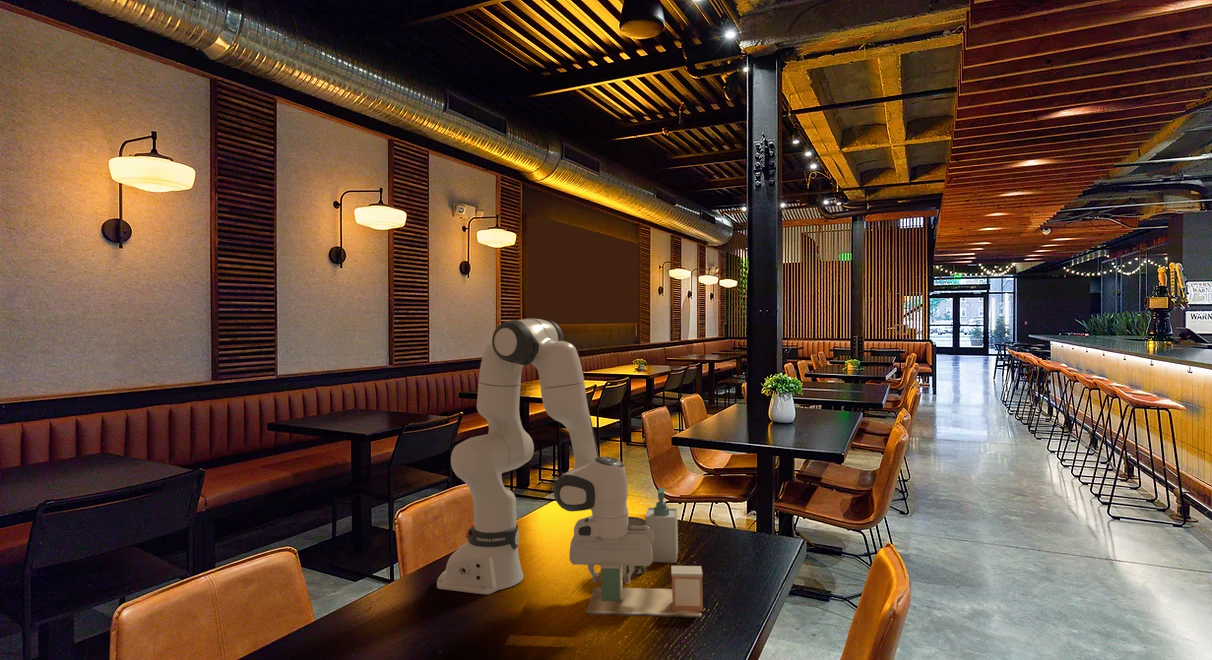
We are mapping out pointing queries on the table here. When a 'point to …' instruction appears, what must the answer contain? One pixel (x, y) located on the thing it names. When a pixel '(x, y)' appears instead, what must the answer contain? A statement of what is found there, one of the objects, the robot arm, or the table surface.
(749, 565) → the table surface
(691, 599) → the rust tin
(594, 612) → the shelf board
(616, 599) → the green tin
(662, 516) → the soap bottle
